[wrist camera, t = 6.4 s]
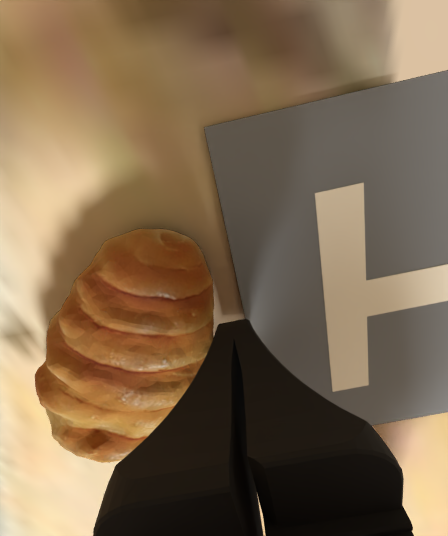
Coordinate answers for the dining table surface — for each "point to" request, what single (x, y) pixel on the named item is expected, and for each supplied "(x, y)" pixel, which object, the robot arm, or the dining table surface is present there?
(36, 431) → the dining table surface
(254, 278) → the board
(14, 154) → the dining table surface
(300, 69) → the dining table surface
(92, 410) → the pastry
